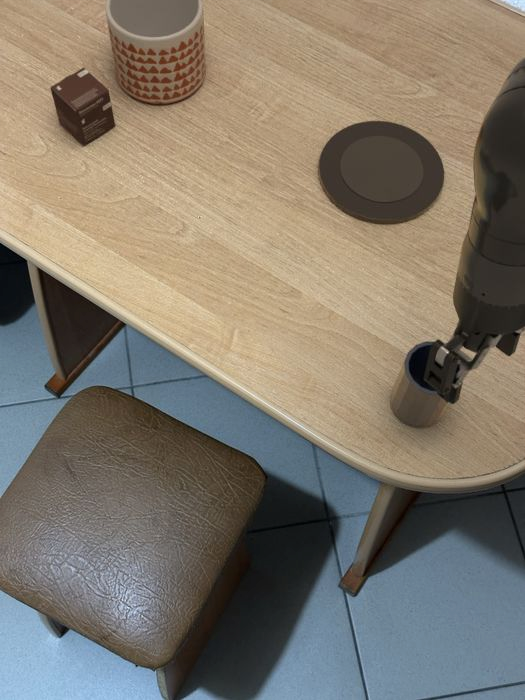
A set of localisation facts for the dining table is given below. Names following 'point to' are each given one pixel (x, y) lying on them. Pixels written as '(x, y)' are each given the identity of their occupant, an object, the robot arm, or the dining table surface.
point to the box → (83, 106)
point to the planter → (157, 47)
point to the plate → (381, 172)
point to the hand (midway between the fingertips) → (476, 372)
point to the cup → (417, 391)
